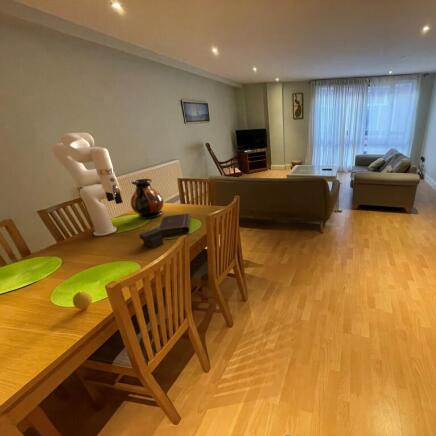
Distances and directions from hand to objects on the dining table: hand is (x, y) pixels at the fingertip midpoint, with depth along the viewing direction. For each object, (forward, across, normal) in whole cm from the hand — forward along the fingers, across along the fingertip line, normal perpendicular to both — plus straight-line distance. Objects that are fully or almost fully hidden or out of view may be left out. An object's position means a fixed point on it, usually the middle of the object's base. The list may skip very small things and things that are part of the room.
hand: (115, 201), depth 135 cm
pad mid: (+24, -15, -7) cm, 29 cm away
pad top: (+21, -15, -7) cm, 27 cm away
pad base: (+26, -15, -7) cm, 31 cm away
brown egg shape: (+26, -44, +37) cm, 63 cm away
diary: (+26, -5, -28) cm, 39 cm away
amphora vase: (+26, +32, -32) cm, 52 cm away
